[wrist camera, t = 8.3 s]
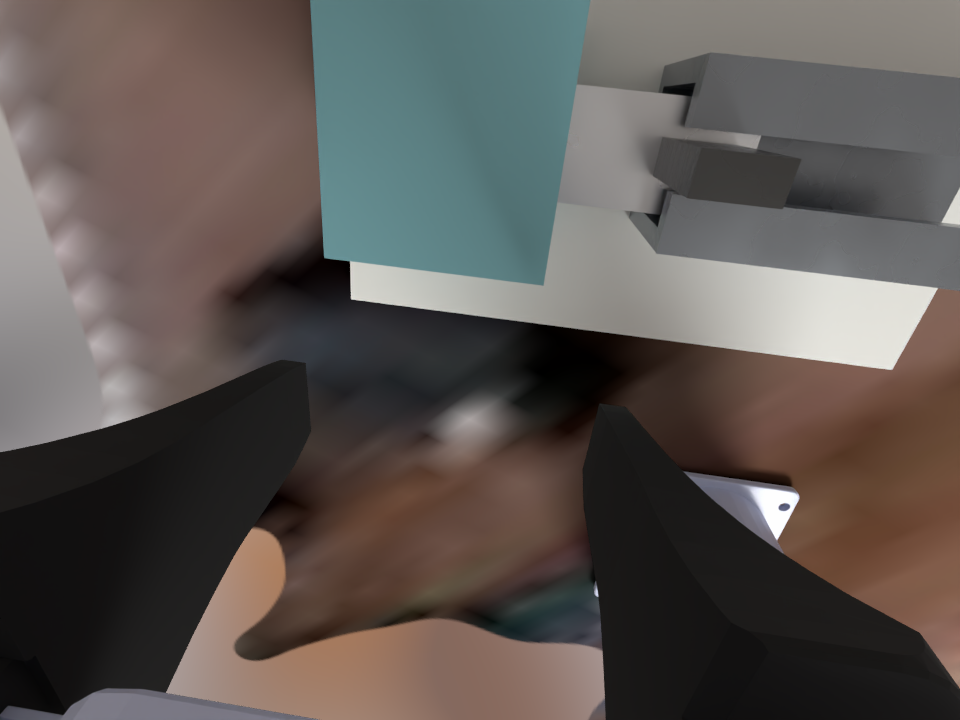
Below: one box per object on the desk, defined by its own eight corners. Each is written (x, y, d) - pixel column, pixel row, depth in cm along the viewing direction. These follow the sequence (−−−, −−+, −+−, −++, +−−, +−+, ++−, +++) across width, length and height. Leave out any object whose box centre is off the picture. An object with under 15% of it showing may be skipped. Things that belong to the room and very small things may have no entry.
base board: (877, 358, 20) (892, 369, 20) (358, 291, 22) (351, 299, 21) (1112, -79, 14) (1150, -91, 13) (349, -145, 15) (337, -160, 14)
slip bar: (701, 203, 17) (788, 258, 11) (410, 170, 17) (345, 204, 11) (730, 104, 15) (849, 105, 9) (413, 70, 16) (340, 51, 10)
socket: (542, 237, 19) (543, 285, 14) (379, 217, 19) (324, 257, 14) (576, 14, 15) (594, -26, 11) (378, -5, 16) (306, -54, 11)
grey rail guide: (911, 251, 18) (1030, 299, 13) (628, 218, 18) (656, 253, 14) (990, 99, 15) (1163, 98, 11) (664, 65, 16) (711, 52, 12)
